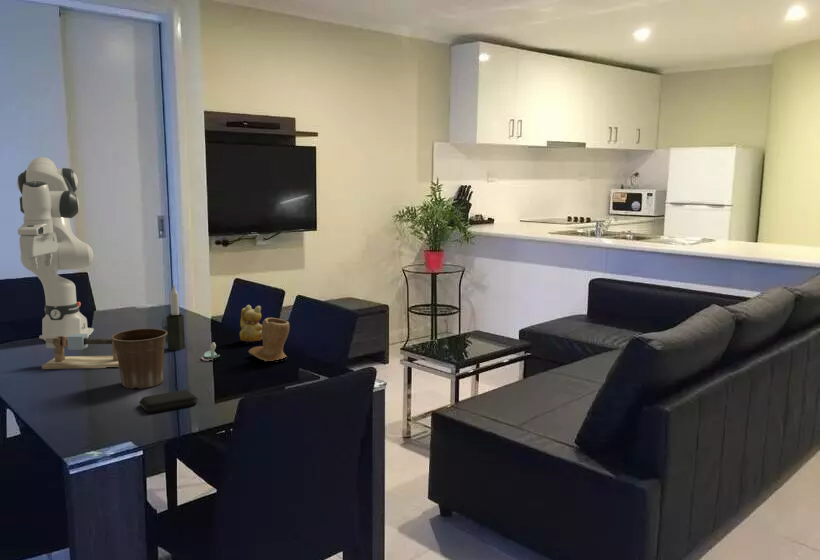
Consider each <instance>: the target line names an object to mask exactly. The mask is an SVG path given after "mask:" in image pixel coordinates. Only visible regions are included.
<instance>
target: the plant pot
mask: <svg viewBox="0 0 820 560" xmlns="http://www.w3.org/2000/svg"><path fill="white" fill-rule="evenodd" d="M167 336H168V334H167V330H165V329H160V328H134V329H128V330H123V331H119V332H116V333H114V334H113V335H111V339H112V340H113V342H114V347H115V350H116V352H117V357H118V363H119V368H118V369H119V374H120V379H121V380H120V381H121V385H123V386H124V388H125V387H126V389H129V388H130V390H131V389H132V390H134V389H135V388H137V389H140V390H141V389H142V390H143V389H150V388H153V387H156V386H158V385H161V384H162V383H163V382H164V364H165V363H164V362H165V360H164V359H165V346H166V340H167ZM149 387H150V388H149Z"/></svg>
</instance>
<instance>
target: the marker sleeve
mask: <svg viewBox="0 0 820 560" xmlns="http://www.w3.org/2000/svg"><path fill="white" fill-rule="evenodd" d="M83 339H89V337H88V336H87V334H71V335H69V336H67V344H68V347H67V350H68V351H71V350H74V351H75V350H76V351H78V350H81V351H82V350H84V349H86V348H88V347H89V344H84V340H83Z"/></svg>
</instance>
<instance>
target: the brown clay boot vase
mask: <svg viewBox="0 0 820 560" xmlns="http://www.w3.org/2000/svg"><path fill="white" fill-rule="evenodd" d="M261 325H262V345H261V346H260V345H259V346H253V347H252V348H250V349H249V350H248V353H249V354H250V355H252V356H253V357H255V358H257V359H259V360H261V361H263V360H264V362H267V361H274V360H279V359H283V358H285V357H287V358H288V356H287V355H286V353H285V352H284V347H285V346H284V345H285V343H286V341H287V338H288V336H289V333H290V328H291V327H290V322H289V321H288V320H285V319H281V318H276V317H267V318H264V320H263V321H262V323H261Z"/></svg>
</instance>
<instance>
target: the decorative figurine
mask: <svg viewBox="0 0 820 560" xmlns="http://www.w3.org/2000/svg"><path fill="white" fill-rule="evenodd" d="M261 311H262V306H261V305H257V306H255V308H254V309H253V308H252V306H251V305H250V304H247V305H246V306H245V307H243V308H241V312H240V322H239V325H240V329H241V330H240V331H239V338H240V339H239V340H240V341H242V342H243V341H246V342H254V341H259V342H260V341H261V340H262V341H263V339H262V323H260V321H261V319H262V312H261Z"/></svg>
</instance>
